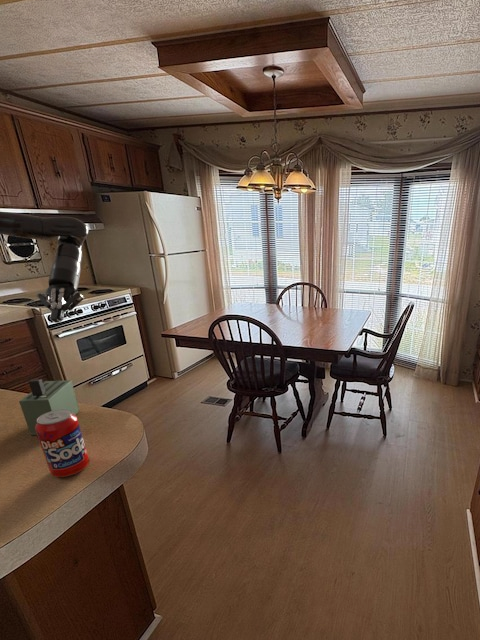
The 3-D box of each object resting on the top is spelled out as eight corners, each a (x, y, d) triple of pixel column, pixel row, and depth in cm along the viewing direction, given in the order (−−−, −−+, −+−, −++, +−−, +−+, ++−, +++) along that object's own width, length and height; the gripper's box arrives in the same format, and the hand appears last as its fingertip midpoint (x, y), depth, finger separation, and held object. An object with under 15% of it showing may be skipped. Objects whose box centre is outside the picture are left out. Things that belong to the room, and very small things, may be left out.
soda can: (76, 455, 88) (61, 404, 83) (97, 464, 86) (83, 412, 80) (43, 474, 82) (24, 420, 76) (65, 483, 79) (46, 428, 73)
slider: (36, 393, 95) (31, 379, 94) (46, 393, 96) (41, 378, 94) (33, 396, 94) (28, 381, 92) (43, 395, 94) (38, 381, 93)
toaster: (55, 412, 107) (45, 380, 103) (79, 411, 109) (71, 379, 104) (30, 435, 96) (18, 400, 91) (59, 434, 97) (48, 399, 93)
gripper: (35, 267, 106) (23, 316, 100) (80, 266, 108) (71, 314, 102) (51, 281, 113) (41, 327, 107) (93, 280, 115) (86, 326, 109)
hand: (56, 321), depth 105 cm, fingers closed
